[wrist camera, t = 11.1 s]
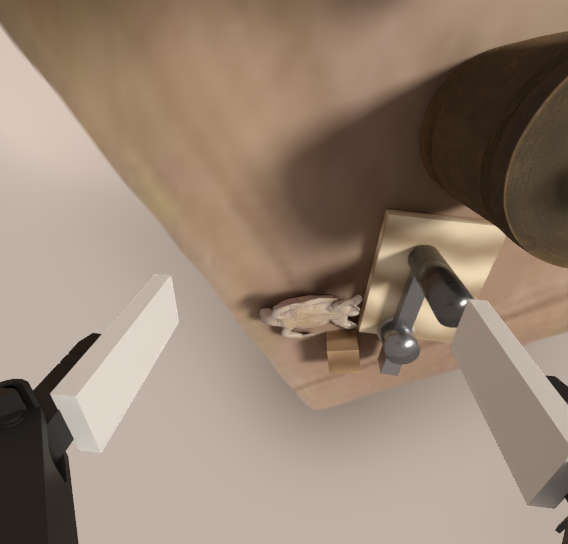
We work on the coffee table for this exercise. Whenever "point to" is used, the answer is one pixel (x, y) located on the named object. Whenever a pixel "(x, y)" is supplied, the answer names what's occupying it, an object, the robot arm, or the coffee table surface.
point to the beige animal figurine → (311, 313)
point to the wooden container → (507, 142)
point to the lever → (420, 284)
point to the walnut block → (343, 351)
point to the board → (395, 270)
